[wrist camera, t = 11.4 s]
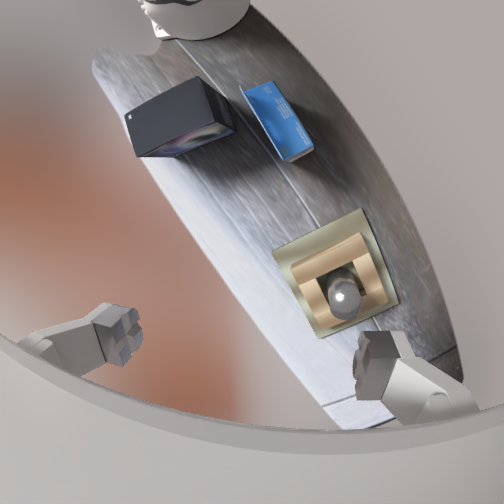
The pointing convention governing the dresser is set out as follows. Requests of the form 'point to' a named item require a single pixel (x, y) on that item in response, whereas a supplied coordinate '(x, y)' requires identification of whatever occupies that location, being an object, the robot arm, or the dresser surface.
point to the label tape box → (279, 121)
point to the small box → (179, 120)
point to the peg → (343, 294)
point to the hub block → (329, 258)
